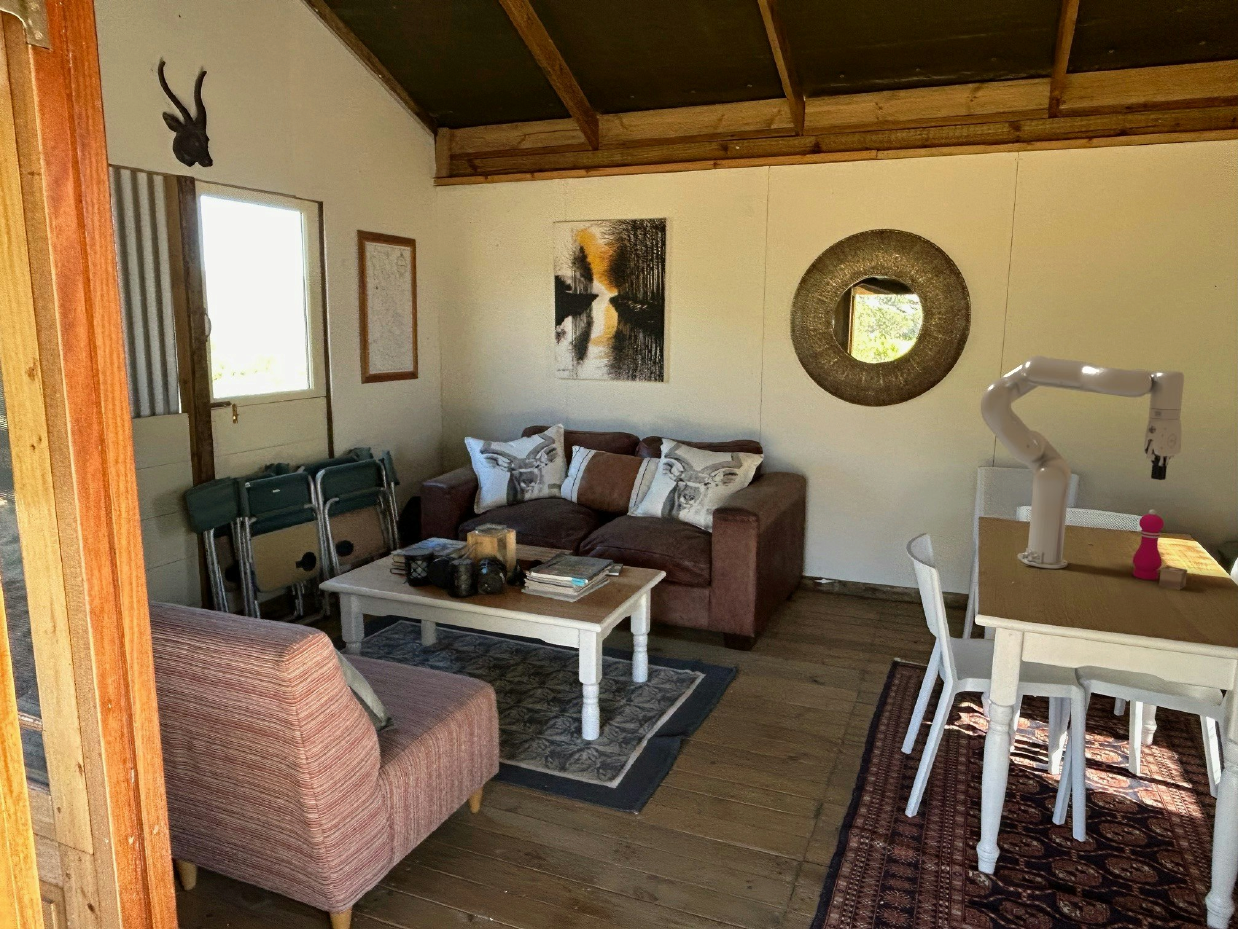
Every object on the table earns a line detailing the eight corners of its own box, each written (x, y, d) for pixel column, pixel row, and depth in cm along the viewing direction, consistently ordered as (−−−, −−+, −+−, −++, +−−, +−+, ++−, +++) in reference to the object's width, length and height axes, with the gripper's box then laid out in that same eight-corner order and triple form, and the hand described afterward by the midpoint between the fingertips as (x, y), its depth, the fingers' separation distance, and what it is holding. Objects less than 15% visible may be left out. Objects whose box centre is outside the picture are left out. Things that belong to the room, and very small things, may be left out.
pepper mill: (1164, 581, 248) (1172, 512, 244) (1136, 579, 249) (1144, 511, 246) (1154, 573, 255) (1161, 507, 251) (1127, 572, 256) (1134, 506, 253)
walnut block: (1179, 590, 240) (1181, 572, 239) (1159, 586, 244) (1161, 568, 243) (1185, 587, 243) (1187, 569, 242) (1165, 582, 247) (1167, 565, 246)
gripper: (1160, 417, 237) (1154, 483, 240) (1194, 414, 244) (1187, 479, 247) (1134, 415, 244) (1128, 479, 247) (1167, 412, 251) (1161, 474, 254)
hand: (1158, 479), depth 247 cm, fingers closed
